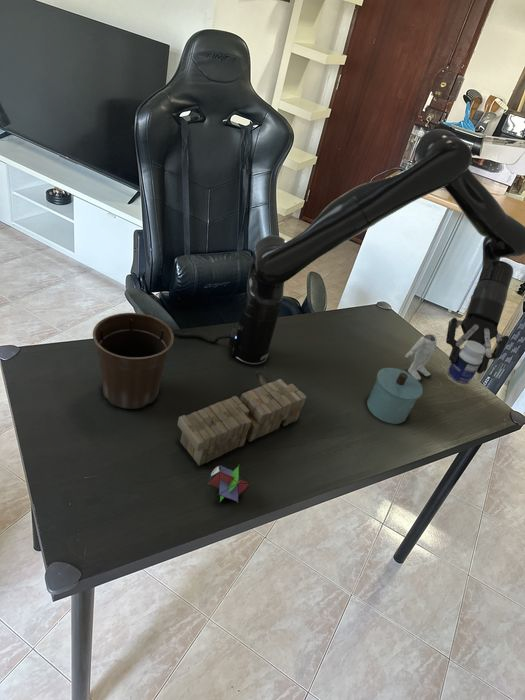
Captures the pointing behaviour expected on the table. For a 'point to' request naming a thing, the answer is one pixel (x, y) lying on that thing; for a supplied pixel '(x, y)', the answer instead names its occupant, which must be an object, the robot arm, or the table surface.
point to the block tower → (239, 420)
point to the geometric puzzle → (228, 483)
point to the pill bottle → (466, 363)
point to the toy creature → (422, 355)
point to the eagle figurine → (262, 378)
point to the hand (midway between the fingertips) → (466, 367)
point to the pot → (394, 395)
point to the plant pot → (132, 357)
